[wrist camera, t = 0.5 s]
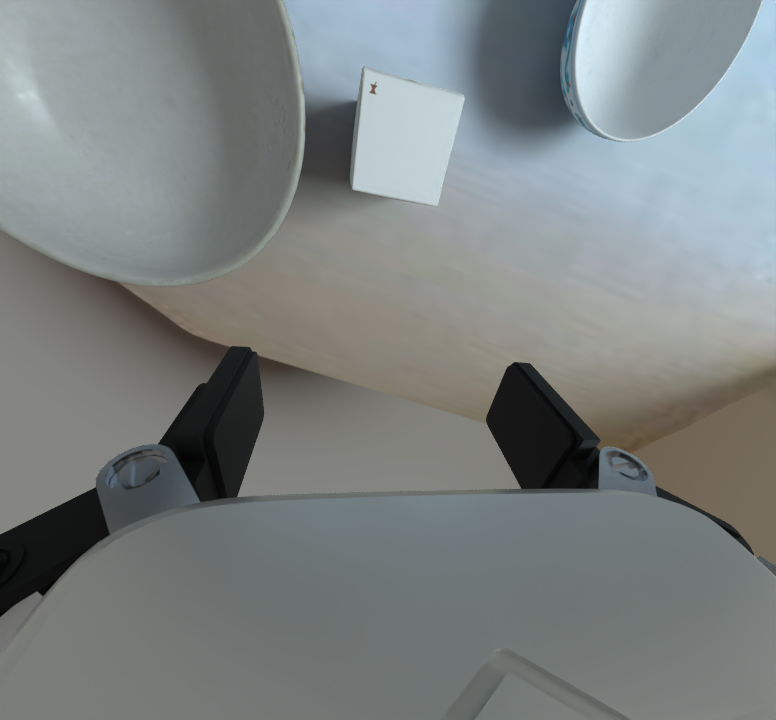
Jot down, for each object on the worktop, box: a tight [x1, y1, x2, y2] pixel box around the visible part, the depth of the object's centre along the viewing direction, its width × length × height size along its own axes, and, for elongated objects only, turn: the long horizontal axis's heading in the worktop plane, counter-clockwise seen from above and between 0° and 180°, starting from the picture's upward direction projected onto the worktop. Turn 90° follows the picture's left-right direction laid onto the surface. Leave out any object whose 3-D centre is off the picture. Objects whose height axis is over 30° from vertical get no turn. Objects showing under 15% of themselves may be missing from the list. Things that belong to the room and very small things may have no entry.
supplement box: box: [349, 66, 465, 206], centre depth 27 cm, size 7×7×13 cm
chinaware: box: [560, 0, 763, 142], centre depth 27 cm, size 15×15×8 cm
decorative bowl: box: [0, 0, 306, 287], centre depth 23 cm, size 27×27×12 cm
